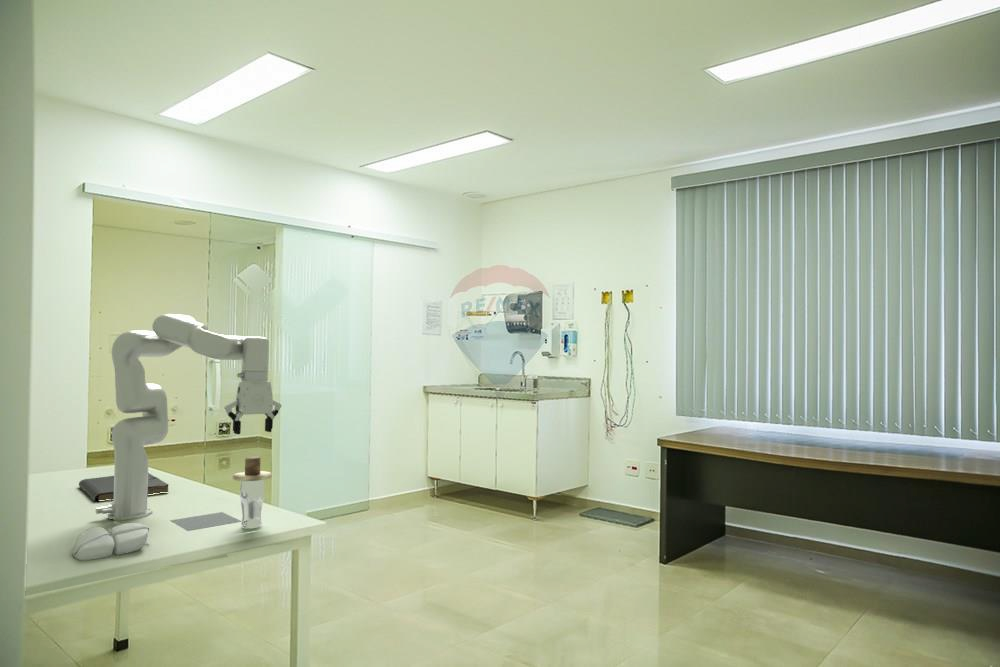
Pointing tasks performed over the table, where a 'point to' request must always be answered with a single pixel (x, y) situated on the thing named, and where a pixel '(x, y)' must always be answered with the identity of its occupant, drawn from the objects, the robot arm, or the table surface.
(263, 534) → the table surface
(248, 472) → the lid
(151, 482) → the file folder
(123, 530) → the lung model
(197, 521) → the mat
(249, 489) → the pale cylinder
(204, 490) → the table surface
